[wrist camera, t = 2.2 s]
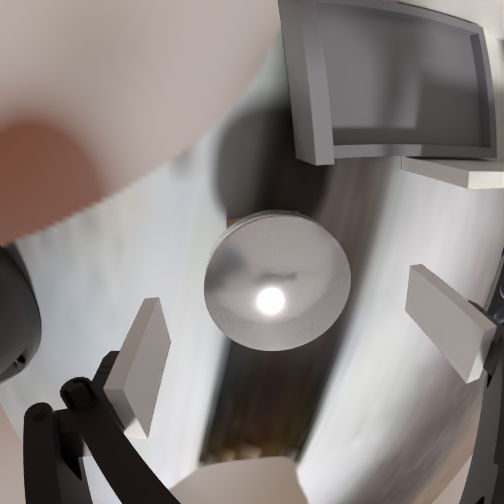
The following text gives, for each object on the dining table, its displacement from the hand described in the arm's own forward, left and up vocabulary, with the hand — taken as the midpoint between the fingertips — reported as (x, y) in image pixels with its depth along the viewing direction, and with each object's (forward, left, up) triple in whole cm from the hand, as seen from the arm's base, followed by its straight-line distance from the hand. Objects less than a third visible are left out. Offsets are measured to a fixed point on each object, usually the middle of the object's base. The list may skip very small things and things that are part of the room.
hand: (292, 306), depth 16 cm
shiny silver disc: (0, 0, -3) cm, 3 cm away
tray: (+11, +12, -7) cm, 18 cm away
